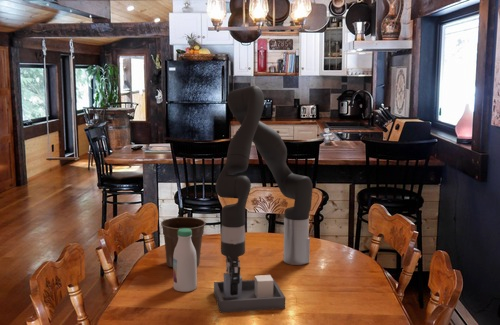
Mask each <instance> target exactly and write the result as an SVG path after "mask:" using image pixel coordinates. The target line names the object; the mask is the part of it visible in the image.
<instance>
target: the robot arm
mask: <svg viewBox="0 0 500 325" xmlns="http://www.w3.org/2000/svg"><path fill="white" fill-rule="evenodd" d="M226 100H227V106H228V108H229V110H230V112H231V113H232V115H233V117H234V118H235V119H236V120H237V122H238V124H240V126H239V128H238V129H237V131H236V132H235V133H234V135H233V136H232V138H231V140H230V142H229V145H228V148H227V155H226V161H225V163H224V165H223V168H222V169H221V171H220V173H219V175H218V177H217V179H216V182H215V192H216V194H217V195H218V197H219V198H223V199H225V198H226V199H237V201H236V203H231V204H227V205H223V207H222V209H221V229H220V253H221V255H223V256H225V263H226V265H225V267H226V270H225V271H226V273H228V275H229V276H230V293H231V295H237V294H238V284H239V282H240V275H241V260H240V258H239V257H241V256H244V255H245V252H246V228H245V227H246V226H245V222H246V221H245V218H246V217H245V214H246V213H245V212H246V208H247V207H246V205H247V201H248V199H249V195H250V192H251V189H252V188H251V187H252V184H251V181H250V178H249V177H248V176H247V175H238V173H243V172H246V171H247V169H248V167H249V163H250V157H251V152H252V151H251V149H252V146H253V144H254V145H255V148H256V149H257V151H258V153H259V154H260V156H261V158H262V159H263V161H264V162H265V164H266V165H267V168H268V170H270V172H271V173H272V176H273V178H274V180H275V183H276V184H277V187H278V188H279V190H280V193H281V194H282V195H283V196H284V197H286V198H288V199H292V200H294V203H293V206H290V207H286V208H285V209H284V212H283V213H284V215H283V254H282V255H283V260H282V261H283V262H284V263H285V264H287V265H293V266H302V265H305V264H310V254H311V252H310V249H311V248H310V247H311V238H310V237H309V233H310V232H309V227H310V225H309V224H310V213H311V209H312V200H313V182H312V180H311V178H310V177H309V176H306V175H300V174H296V173H293V171H291V169H290V168H289V166H288V165H287V157H288V148H287V146H286V144H285V142H284V140H283V138H282V137H281V134H280V133H278V132H277V131H276V130H275V129H274V128H272V127H271V126H269V125H268V124H266V123H264V122H262V121H261V118H262V115H263V111H264V106H265V95H264V92H263V90H262V89H261V88H260V87H259V86H258V85H249V86H244V87H241V88H236V89H234V90H230V91H229V93H228V94H227V98H226ZM236 174H237V175H236ZM233 278H236V279H234V280H233Z"/></svg>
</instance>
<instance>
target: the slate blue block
mask: <svg viewBox="0 0 500 325" xmlns="http://www.w3.org/2000/svg"><path fill="white" fill-rule="evenodd" d="M234 279H236V278H233V280H234ZM242 280H243V278H242V275H241V274H240V282H239V284H238V294H237V295H231V293H230V276H229V275H228V273H227V272H224V273H223V281H224V294H225V297H226V298H227V297H242Z"/></svg>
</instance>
